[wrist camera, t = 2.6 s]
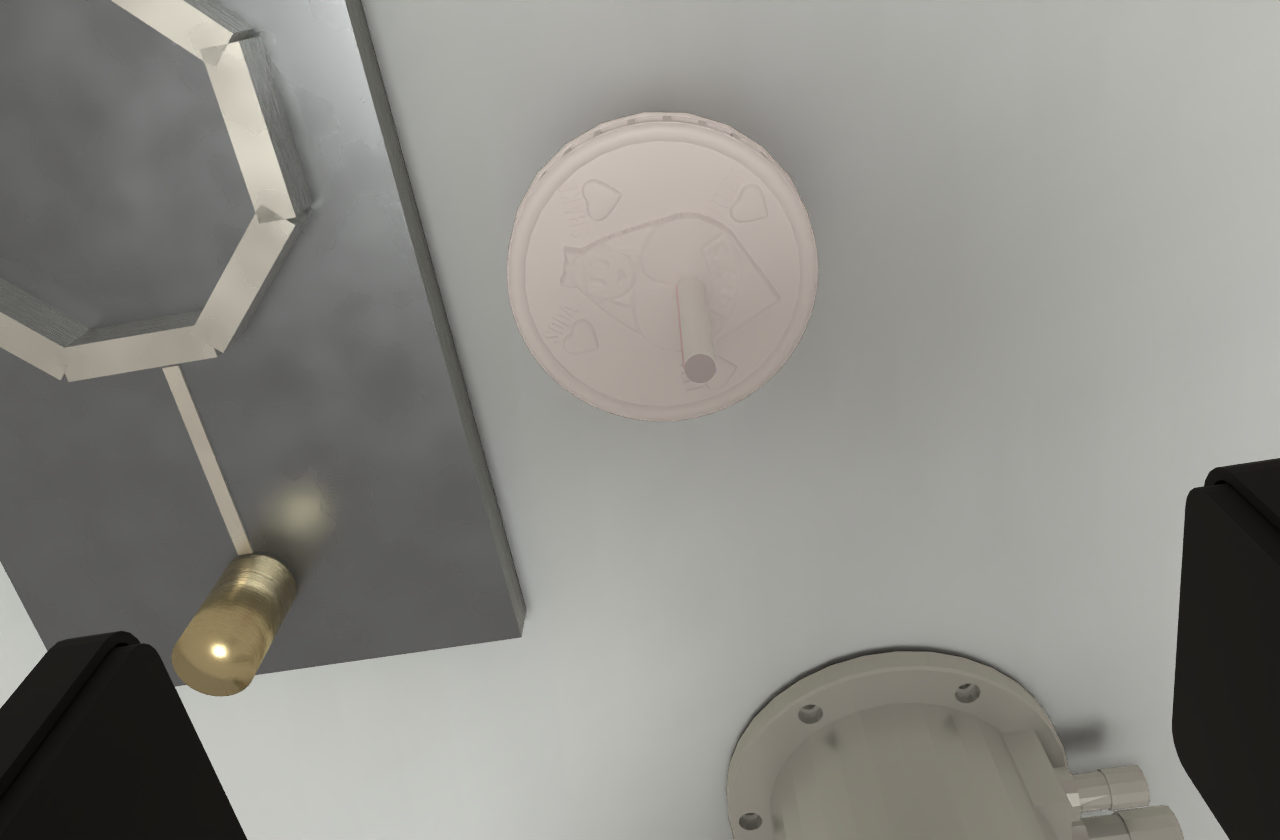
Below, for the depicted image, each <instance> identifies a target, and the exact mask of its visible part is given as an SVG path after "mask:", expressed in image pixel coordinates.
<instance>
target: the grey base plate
mask: <svg viewBox="0 0 1280 840" xmlns="http://www.w3.org/2000/svg"><path fill="white" fill-rule="evenodd" d="M0 561H1V563H2V565H3V567H4V569H5V571H6V573H7V575H8V577H9V578H10V580H11V582H12V584H13V586H14V588H15V590H16V592H17V594H18V596H19V598H20V599H21V601H22V603H23V605H24V607H25V609H26V611H27V613H28V615H29V617H30V618H31V620H32V622H33V624H34V626H35V628H36V630H37V632H38V634H39V636H40V637H41V639H42V641H43V643H44V645H45V647H46V649H47V651H48V650H49V649H50V648H51V647H53V646H54V645H55V644H56V643H57V642H59V641H62V640H65V639H69V638H76V637H83V636H89V635H96V634H103V633H109V632H116V631H125V632H130V633H131V634H132V635H134V636H135V637H136V638H138V640H139V641H140V643H145V644H150V645H151V646H152V647H154V648H155V649H156V651H157V652H158V654H159V655H160V657H161V659H162V661H163V663H164V665H165V668H166V670H167V672H168V674H169V676H170V678H171V680H172V682H173V684H174V686H181V685H188V686H189V687H191V688H192V689H194V690H196V691H198V692H201V693H204V694H207V695H211V696H229V695H233V694H236V693H239V692H241V691H242V690H244V689H245V688H246V687H247V686H248V685H249V684H250V683H251V681H252V679H253V677H254V676H255V675H259V674H266V673H273V672H280V671H287V670H294V669H301V668H308V667H315V666H322V665H329V664H336V663H343V662H350V661H357V660H364V659H371V658H378V657H385V656H392V655H400V654H407V653H414V652H421V651H428V650H435V649H442V648H449V647H456V646H463V645H470V644H477V643H484V642H491V641H498V640H505V639H512V638H519V637H522V631H523V626H524V620H525V614H526V608H525V604H524V601H523V597H522V593H521V590H520V586H519V582H518V579H517V575H516V571H515V568H514V564H513V560H512V557H511V553H510V549H509V545H508V542H507V538H506V534H505V531H504V527H503V523H502V520H501V516H500V512H499V509H498V505H497V501H496V498H495V494H494V490H493V487H492V483H491V479H490V475H489V472H488V468H487V464H486V461H485V457H484V453H483V450H482V446H481V442H480V439H479V435H478V431H477V428H476V424H475V420H474V417H473V413H472V409H471V405H470V402H469V398H468V394H467V391H466V387H465V383H464V380H463V376H462V372H461V369H460V365H459V361H458V358H457V354H456V350H455V347H454V343H453V339H452V335H451V332H450V328H449V324H448V321H447V317H446V313H445V310H444V306H443V302H442V299H441V295H440V291H439V288H438V284H437V280H436V277H435V273H434V269H433V266H432V262H431V258H430V254H429V251H428V247H427V243H426V240H425V236H424V232H423V229H422V225H421V221H420V218H419V214H418V210H417V207H416V203H415V199H414V196H413V192H412V188H411V184H410V181H409V177H408V173H407V170H406V166H405V162H404V159H403V155H402V151H401V148H400V144H399V140H398V137H397V133H396V129H395V126H394V122H393V118H392V114H391V111H390V107H389V103H388V100H387V96H386V92H385V89H384V85H383V81H382V78H381V74H380V70H379V67H378V63H377V59H376V56H375V52H374V48H373V44H372V41H371V37H370V33H369V30H368V26H367V22H366V19H365V15H364V11H363V8H362V4H361V0H0Z"/></svg>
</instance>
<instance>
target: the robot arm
mask: <svg viewBox="0 0 1280 840" xmlns="http://www.w3.org/2000/svg"><path fill="white" fill-rule="evenodd" d="M1172 733H1173V739H1174V744H1175V748H1176V751H1177V754H1178V757H1179V759H1180V762H1181V764H1182V766H1183V767H1184V769H1185V771H1186V773H1187V774H1188V776H1189V777H1190V779H1191V780H1192V782H1193V784H1194V785H1195V787H1196V788H1197V790H1198V791H1199V793H1200V794H1201V796H1202V798H1203V799H1204V801H1205V802H1206V804H1207V805H1208V807H1209V808H1210V810H1211V811H1212V813H1213V815H1214V816H1215V818H1216V819H1217V821H1218V822H1219V824H1220V825H1221V827H1222V828H1223V830H1224V832H1225V833H1226V835H1227V836H1228V838H1229V839H1230V840H1280V458H1278V459H1271V460H1264V461H1258V462H1251V463H1244V464H1237V465H1231V466H1224V467H1217V468H1215V469H1213V470H1212V471H1210V472H1209V474H1208V476H1207V478H1206V480H1205V485H1204V487H1198V488H1194V489H1192V490H1191V491H1190V492H1189V494H1188V496H1187V500H1186V506H1185V522H1184V538H1183V555H1182V571H1181V587H1180V603H1179V619H1178V635H1177V651H1176V668H1175V684H1174V700H1173V716H1172ZM726 792H727V804H728V817H729V821H730V825H731V829H732V833H733V837H734V840H1184V838H1183V834H1182V831H1181V828H1180V825H1179V823H1178V821H1177V819H1176V817H1175V814H1174V813H1173V812H1172V810H1171V809H1170V808H1169V807H1168V806H1165V805H1159V806H1151V807H1143V808H1135V809H1126V810H1118V811H1114V813H1113V814H1111V815H1103V816H1095V817H1086V818H1081V812H1084V811H1092V810H1100V809H1108V810H1117V809H1125V808H1133V807H1141V806H1148V804H1149V801H1150V799H1149V790H1148V786H1147V783H1146V779H1145V777H1144V775H1143V773H1142V771H1141V769H1140V768H1139V767H1138V766H1137V765H1131V766H1123V767H1115V768H1107V769H1099V770H1097V772H1090V773H1083V774H1075V775H1071V773H1070V771H1069V769H1068V764H1067V759H1066V754H1065V749H1064V747H1063V745H1062V743H1061V741H1060V739H1059V737H1058V735H1057V733H1056V730H1055V728H1054V726H1053V724H1052V722H1051V721H1050V719H1049V718H1048V716H1047V715H1046V713H1045V712H1044V710H1043V709H1042V707H1041V706H1040V704H1039V703H1038V701H1037V700H1036V699H1035V698H1033V697H1032V696H1031V695H1030V694H1029V693H1028V692H1027V691H1026V690H1025V689H1024V688H1023V687H1022V686H1021V685H1019V684H1018V683H1017V682H1015V681H1014V680H1012V679H1010V678H1009V677H1007V676H1005V675H1004V674H1002V673H1000V672H998V671H997V670H995V669H993V668H991V667H988V666H986V665H983V664H980V663H977V662H974V661H972V660H969V659H966V658H963V657H958V656H952V655H946V654H941V653H935V652H910V651H896V652H888V653H881V654H874V655H866V656H861V657H858V658H854V659H851V660H848V661H844V662H841V663H837V664H834V665H831V666H828V667H826V668H824V669H822V670H820V671H818V672H816V673H814V674H811V675H809V676H807V677H805V678H803V679H801V680H799V681H798V682H796V683H795V684H794V685H792V686H791V687H789V688H788V689H786V690H785V691H783V692H782V693H780V694H779V695H778V696H776V697H775V698H774V699H773V700H772V701H771V702H770V703H769V704H768V705H767V706H766V707H765V708H764V709H763V710H762V711H761V712H760V713H759V714H758V715H757V716H756V717H754V719H753V720H752V722H751V723H750V725H749V726H748V728H747V729H746V731H745V732H744V734H743V735H742V736H741V738H740V739H739V741H738V744H737V746H736V749H735V751H734V754H733V756H732V759H731V761H730V764H729V770H728V778H727V785H726ZM0 840H247V838H246V836H245V834H244V832H243V830H242V828H241V825H240V823H239V821H238V819H237V817H236V815H235V813H234V811H233V809H232V806H231V804H230V802H229V800H228V798H227V796H226V794H225V792H224V790H223V788H222V785H221V783H220V781H219V779H218V777H217V775H216V773H215V771H214V769H213V767H212V764H211V762H210V760H209V758H208V756H207V754H206V752H205V750H204V748H203V745H202V743H201V741H200V739H199V737H198V735H197V733H196V731H195V729H194V727H193V724H192V722H191V720H190V718H189V716H188V714H187V712H186V710H185V708H184V705H183V703H182V701H181V699H180V697H179V695H178V693H177V691H176V689H175V687H174V684H173V682H172V680H171V678H170V676H169V674H168V672H167V670H166V668H165V665H164V663H163V661H162V659H161V657H160V655H159V654H158V652H157V651H156V649H155V648H154V647H152V646H151V645H150V644H145V643H140V641H139V640H138V638H136V637H135V636H134V635H132V634H131V633H130V632H125V631H116V632H109V633H103V634H96V635H89V636H83V637H76V638H69V639H65V640H62V641H59V642H57V643H56V644H55V645H54V646H53V647H51V648H50V649H49V650H48V652H47V653H46V654H45V655H44V656H43V658H42V659H41V660H40V661H39V663H38V664H37V665H36V666H35V667H34V669H33V670H32V671H31V672H30V673H29V675H28V676H27V677H26V678H25V679H24V681H23V682H22V683H21V684H20V686H19V687H18V688H17V689H16V690H15V692H14V693H13V694H12V695H11V696H10V698H9V699H8V700H7V701H6V702H5V704H4V705H3V706H2V707H1V709H0Z"/></svg>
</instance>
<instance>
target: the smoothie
mask: <svg viewBox="0 0 1280 840" xmlns="http://www.w3.org/2000/svg"><path fill="white" fill-rule="evenodd" d="M507 281H508V292H509V298H510V304H511V307H512V311H513V315H514V318H515V321H516V324H517V326H518V329H519V331H520V333H521V335H522V337H523V339H524V341H525V343H526V345H527V347H528V348H529V350H530V351H531V353H532V355H533V356H534V357H535V359H536V360H537V361H538V363H539V364H540V365H541V367H542V368H543V369H544V370H545V371H546V372H547V373H548V374H549V375H550V376H551V377H552V378H553V379H554V380H555V381H556V382H557V383H558V384H560V385H561V386H562V387H563V388H565V389H566V390H567V391H569V392H570V393H571V394H573V395H574V396H576V397H577V398H579V399H581V400H582V401H584V402H586V403H588V404H590V405H592V406H594V407H596V408H598V409H601V410H603V411H606V412H609V413H611V414H615V415H619V416H622V417H626V418H631V419H637V420H645V421H678V420H686V419H691V418H697V417H701V416H704V415H708V414H711V413H714V412H717V411H719V410H722V409H725V408H727V407H729V406H731V405H733V404H735V403H737V402H739V401H741V400H742V399H744V398H746V397H747V396H749V395H750V394H752V393H753V392H755V391H756V390H757V389H759V388H760V387H761V386H763V385H764V384H765V383H766V382H767V381H768V380H769V379H771V378H772V377H773V376H774V375H775V374H776V373H777V371H778V370H779V369H780V368H781V367H782V366H783V365H784V363H785V362H786V361H787V360H788V358H789V357H790V356H791V354H792V353H793V351H794V350H795V348H796V347H797V345H798V343H799V341H800V340H801V338H802V336H803V334H804V332H805V330H806V327H807V324H808V322H809V319H810V317H811V313H812V310H813V306H814V303H815V297H816V291H817V282H818V257H817V250H816V243H815V239H814V235H813V230H812V227H811V224H810V221H809V216H808V213H807V210H806V208H805V206H804V204H803V202H802V200H801V198H800V196H799V194H798V192H797V190H796V188H795V186H794V184H793V182H792V180H791V178H790V177H789V176H788V174H787V173H786V172H785V171H784V170H783V169H782V168H781V167H780V165H779V164H778V163H777V162H776V161H775V160H774V159H773V158H772V157H771V155H770V154H769V153H768V152H767V151H766V150H765V149H764V148H763V147H762V146H760V145H759V144H757V143H756V142H754V141H752V140H751V139H749V138H748V137H746V136H745V135H743V134H741V133H740V132H738V131H737V130H735V129H733V128H732V127H730V126H729V125H727V124H723V123H720V122H717V121H713V120H710V119H706V118H703V117H700V116H696V115H693V114H690V113H677V112H642V113H638V114H634V115H630V116H626V117H622V118H619V119H615V120H611V121H607V122H603V123H601V124H600V125H598V126H596V127H594V128H593V129H591V130H589V131H587V132H586V133H584V134H582V135H580V136H579V137H577V138H575V139H573V140H572V141H570V142H568V143H566V144H565V145H564V146H563V147H562V148H561V149H560V151H559V152H558V153H557V154H556V155H555V156H554V157H553V158H552V159H551V160H550V161H549V162H548V163H547V164H546V165H545V166H544V167H543V168H542V169H541V170H540V171H539V172H538V173H537V174H536V176H535V178H534V180H533V182H532V184H531V185H530V187H529V189H528V191H527V193H526V194H525V196H524V198H523V200H522V202H521V203H520V205H519V207H518V209H517V213H516V218H515V222H514V226H513V230H512V234H511V239H510V243H509V254H508V264H507Z"/></svg>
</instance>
